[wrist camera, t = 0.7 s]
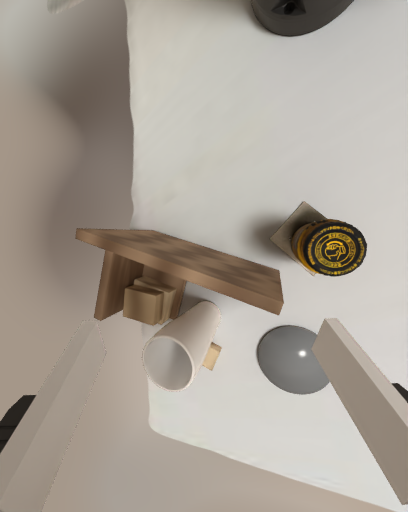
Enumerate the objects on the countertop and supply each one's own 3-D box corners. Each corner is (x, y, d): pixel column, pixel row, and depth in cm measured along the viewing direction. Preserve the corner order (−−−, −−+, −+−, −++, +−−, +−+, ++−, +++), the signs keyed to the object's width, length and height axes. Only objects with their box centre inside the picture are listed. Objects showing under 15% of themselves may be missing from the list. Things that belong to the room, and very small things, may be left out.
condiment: (313, 275, 31) (336, 300, 19) (269, 239, 32) (266, 241, 21) (352, 238, 29) (404, 242, 17) (304, 201, 30) (322, 181, 19)
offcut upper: (164, 291, 34) (156, 296, 32) (161, 319, 35) (153, 325, 33) (134, 284, 36) (124, 287, 34) (132, 310, 37) (122, 316, 35)
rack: (279, 270, 32) (283, 302, 17) (251, 350, 35) (234, 438, 20) (149, 229, 39) (70, 226, 24) (134, 298, 42) (55, 335, 27)
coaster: (315, 317, 31) (316, 319, 31) (345, 385, 31) (346, 388, 30) (248, 335, 35) (247, 337, 34) (274, 396, 34) (274, 398, 34)
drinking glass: (218, 291, 36) (181, 329, 22) (231, 328, 36) (203, 389, 22) (185, 301, 38) (133, 341, 24) (197, 335, 38) (152, 396, 24)
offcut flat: (222, 346, 37) (219, 352, 35) (214, 364, 38) (211, 370, 36) (184, 325, 39) (179, 330, 37) (178, 342, 40) (173, 348, 38)
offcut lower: (176, 288, 37) (168, 293, 34) (169, 318, 38) (161, 324, 35) (144, 275, 39) (134, 279, 36) (138, 304, 40) (128, 309, 37)
